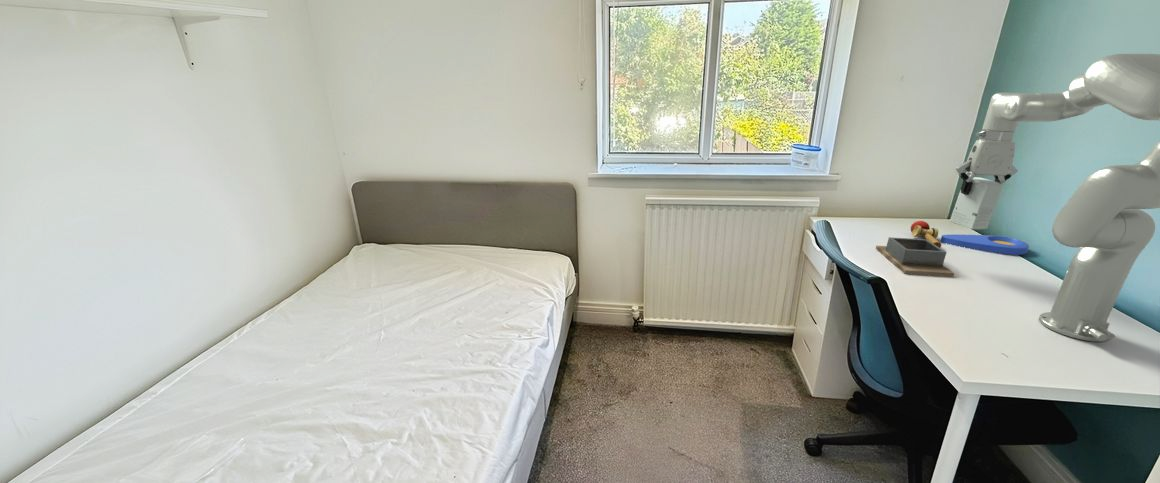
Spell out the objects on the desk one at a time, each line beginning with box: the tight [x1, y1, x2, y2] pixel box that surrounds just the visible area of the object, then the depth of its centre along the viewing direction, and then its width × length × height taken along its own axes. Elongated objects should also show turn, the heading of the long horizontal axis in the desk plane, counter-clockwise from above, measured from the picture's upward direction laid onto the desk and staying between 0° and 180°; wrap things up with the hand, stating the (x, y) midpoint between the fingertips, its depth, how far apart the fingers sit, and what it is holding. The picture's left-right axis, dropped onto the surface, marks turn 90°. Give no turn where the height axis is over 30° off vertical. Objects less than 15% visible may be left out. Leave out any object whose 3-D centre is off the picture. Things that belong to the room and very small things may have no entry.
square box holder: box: [875, 237, 955, 278], centre depth 156 cm, size 22×14×6 cm, turn 170°
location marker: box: [940, 234, 1030, 256], centre depth 170 cm, size 13×3×25 cm
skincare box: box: [949, 176, 1004, 230], centre depth 146 cm, size 8×6×15 cm
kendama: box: [910, 220, 942, 248], centre depth 175 cm, size 8×6×18 cm
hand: (978, 194), depth 145 cm, fingers closed on skincare box, 7 cm apart
